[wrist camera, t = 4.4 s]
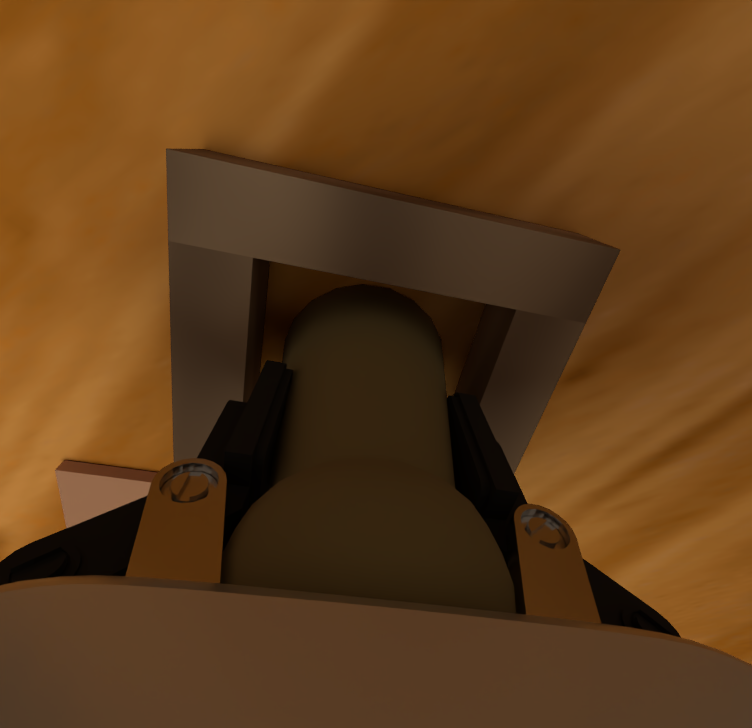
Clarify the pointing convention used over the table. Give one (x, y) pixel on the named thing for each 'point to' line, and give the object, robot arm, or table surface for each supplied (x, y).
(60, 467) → the terracotta tile
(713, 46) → the table surface
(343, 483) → the olive pawn shape
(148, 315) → the table surface
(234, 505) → the robot arm
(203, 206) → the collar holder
